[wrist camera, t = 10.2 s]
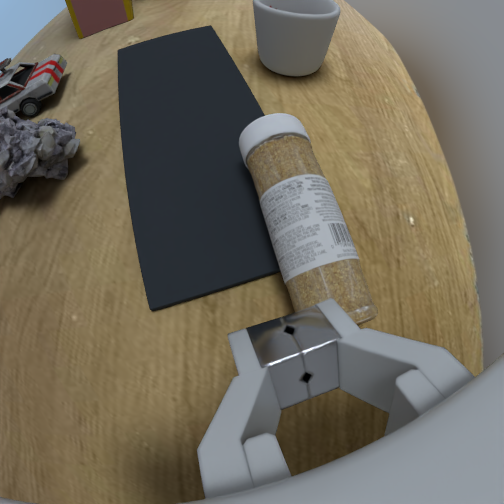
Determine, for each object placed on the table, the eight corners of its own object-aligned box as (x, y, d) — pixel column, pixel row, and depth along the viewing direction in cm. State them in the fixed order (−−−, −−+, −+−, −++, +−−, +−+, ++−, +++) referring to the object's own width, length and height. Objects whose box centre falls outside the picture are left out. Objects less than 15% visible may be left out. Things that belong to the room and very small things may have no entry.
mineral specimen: (-52, 221, 17) (-67, 125, 10) (-11, 163, 23) (-8, 79, 16) (54, 251, 22) (60, 149, 16) (80, 184, 28) (99, 98, 22)
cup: (295, 33, 30) (301, -20, 23) (351, 59, 29) (366, 3, 21) (236, 64, 27) (234, -1, 20) (299, 95, 26) (311, 23, 18)
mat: (330, 255, 20) (332, 251, 19) (152, 311, 18) (149, 309, 18) (211, 28, 31) (210, 25, 30) (118, 53, 29) (117, 49, 29)
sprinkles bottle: (340, 330, 19) (279, 156, 23) (395, 310, 15) (313, 117, 19) (284, 348, 16) (226, 150, 20) (341, 331, 13) (257, 104, 17)
